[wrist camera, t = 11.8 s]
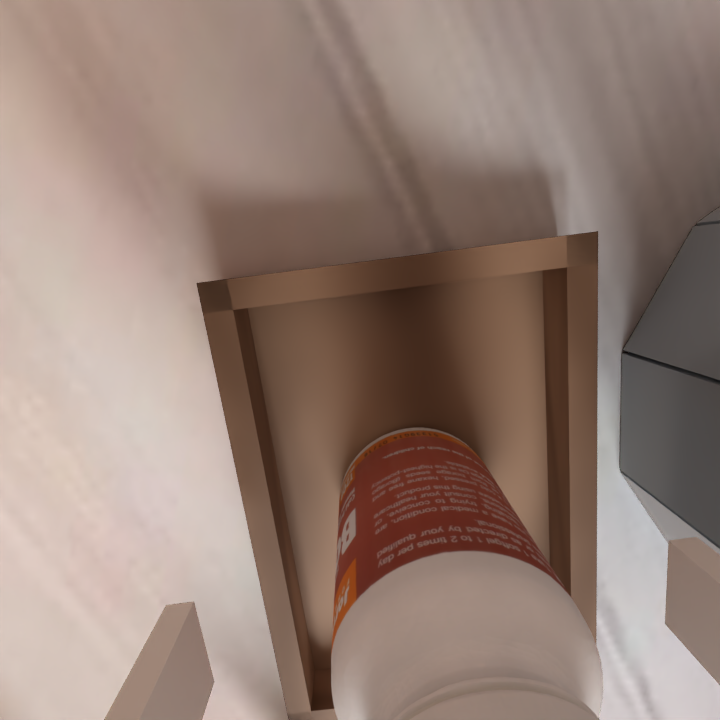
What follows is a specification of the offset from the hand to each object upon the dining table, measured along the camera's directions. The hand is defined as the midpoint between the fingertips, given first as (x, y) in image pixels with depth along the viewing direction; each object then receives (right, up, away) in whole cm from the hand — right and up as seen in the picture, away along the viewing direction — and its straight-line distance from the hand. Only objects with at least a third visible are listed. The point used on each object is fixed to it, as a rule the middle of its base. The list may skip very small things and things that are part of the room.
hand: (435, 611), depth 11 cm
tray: (0, +2, +6) cm, 7 cm away
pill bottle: (0, +1, +6) cm, 6 cm away
